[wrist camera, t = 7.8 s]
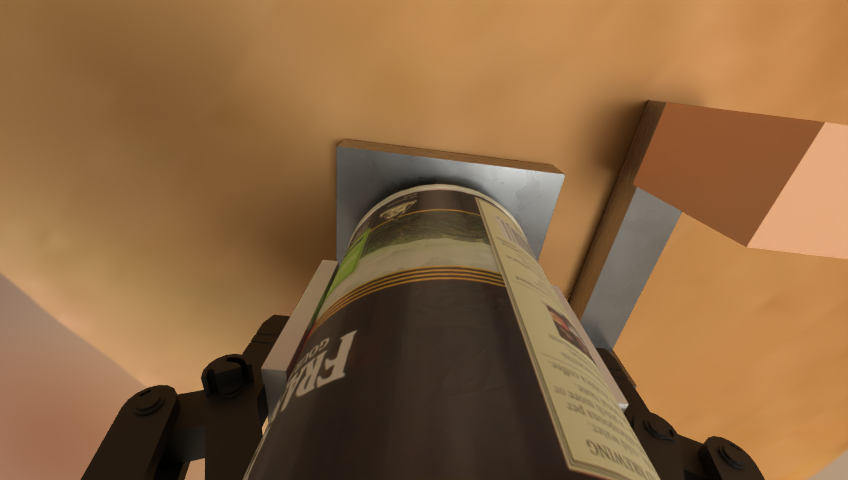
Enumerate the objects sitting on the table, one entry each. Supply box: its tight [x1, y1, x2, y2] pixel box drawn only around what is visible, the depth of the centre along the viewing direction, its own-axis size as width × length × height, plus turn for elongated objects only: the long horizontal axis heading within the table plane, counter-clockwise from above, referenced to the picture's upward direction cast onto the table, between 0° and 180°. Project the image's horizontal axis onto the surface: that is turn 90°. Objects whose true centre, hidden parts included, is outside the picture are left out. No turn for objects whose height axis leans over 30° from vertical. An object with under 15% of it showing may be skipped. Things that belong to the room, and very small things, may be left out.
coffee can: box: [243, 184, 661, 480], centre depth 12 cm, size 10×10×14 cm
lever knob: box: [633, 102, 848, 259], centre depth 13 cm, size 4×4×7 cm
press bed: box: [336, 139, 565, 267], centre depth 16 cm, size 16×12×14 cm
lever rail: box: [569, 100, 682, 388], centre depth 19 cm, size 18×3×5 cm, turn 173°
